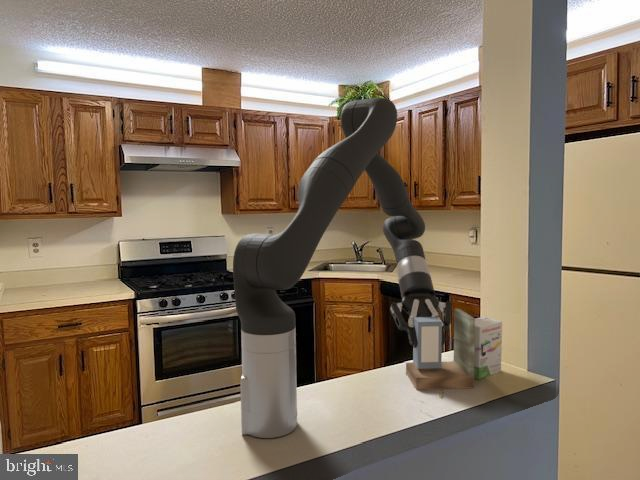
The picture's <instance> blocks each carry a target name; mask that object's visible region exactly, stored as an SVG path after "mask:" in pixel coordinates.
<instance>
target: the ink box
mask: <svg viewBox="0 0 640 480" xmlns="http://www.w3.org/2000/svg"><path fill="white" fill-rule="evenodd" d="M502 338H503V321H502V320H498V319H494V318H491V317H487V316H481V317H477V318H475V349H474V379H477V380H482V379H485V378H487V377H489V376H492V375H494V374H497V373H500V372H502V353H503V352H502V350H503V347H502V343H503V341H502V340H503V339H502Z"/></svg>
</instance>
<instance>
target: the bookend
mask: <svg viewBox="0 0 640 480" xmlns="http://www.w3.org/2000/svg"><path fill="white" fill-rule="evenodd" d="M453 310H454V311H453V312H454V313H453V360H452V361H441V368H428V369H418V368H417V367H416V365H415V364H414V363H413V362H406V363H405V367H406V368H405V373H406V376H407V378H408V379H409V381H410V382H411V385H413V387H414V388H415V390H416V391H417V390H418V391H419V390H443V389H444V390H448V389H474V388H475V378H474V349H475V319H476V318H475V317H473V316H472V315H471V314H468V313H467V312H466V311H464V310H463V309H461V308H454V309H453Z"/></svg>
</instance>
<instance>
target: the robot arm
mask: <svg viewBox="0 0 640 480" xmlns="http://www.w3.org/2000/svg"><path fill="white" fill-rule="evenodd" d="M397 122H398V109H397V107H396V105H395V103H394V102H393V101H391V99H388V98H387V97H379V96H377V97H372V98H371V97H370V98H365V99H364V98H363V99H355V100H351V101H350V100H349V101H348V102H346V103H345V104H344V106H343V107H342V109H341V113H340V125H341V129H342V132H343V135H344V137H345V138H344V139H342V140H341V141H338V142H337V143H335V144H333V145H331V146H330V147H328V148H327V149H326V150H323V151H322V153H320V154H319V155H317V157H316V158H315V159H314V160H313V162H312V163H311V164H310V165H309V167H308V169H306V171H305V172H304V173H303V175H302V176H301V179H300V180H299V184H298V189H297V190H298V193H297V195H298V196H297V197H298V209H297V212H296V214H295V215H294V217H293V219H291V221H290V223H289V224H288V225H287V226H286V227H285V229H283V230H282V231H281V232H279V233H262V232H261V233H249V234H246V235H244V236H243V237H242V238H241V239H240V240H239V241H238V243H237V245H236V247H235V249H234V253H233V257H232V259H233V260H232V276H233V277H232V278H233V288H234V289H233V290H234V303H235V304H234V305H235V309H236V313H237V315H238V318H239V320H240V333H241V335H240V337H241V339H240V340H241V372H242V374H241V377H240V416H241V417H240V418H241V420H240V421H241V435H249V436H252V437H254V438H255V437H256V438H260V439H261V438H262V439H273V438H274V439H275V438H279V437H284V436H286V435H288V434H290V433H292V432H294V430H296V429H297V426H298V403H297V401H298V398H297V397H298V394H297V390H298V388H297V339H296V338H297V337H296V336H297V333H296V330H297V329H296V327H297V326H296V325H297V324H296V313H295V311H294V310H293V309H292V307H290V306H289V305H288V304H286V303H285V302H284V301H283V300H282V299H281V298H280V297H279V295H278V293H277V291H285V290H286V291H287V290H289V289H291V288H293V287H294V286H295V285H296V284H298V282H299V280H301V278H302V276H303V275H304V273H305V271H306V270H307V267H308V266H309V264H310V262H311V260H312V258H313V256H314V253H316V252H315V251H316V250H317V247H318V245H319V243H320V241H321V239H322V238H323V236H324V234H325V232H326V231H327V229H328V227H329V226H330V224H331V223H332V221H333V219H334V217H335V215H336V214H337V213H338V211H339V209H340V208H341V207H342V206H343V204H344V203H345V201H346V200H347V198H348V196H349V195H350V193H351V192H352V190H353V189H354V187H355V186H356V184H357V182H358V180H359V179H360V177H361V176H362V174H363V173H364V171H365V173H366V174H367V176H368V178H369V179H370V181H371V184H372V186H373V188H374V190H375V194H376V196H377V199H378V201H379V205H380V207H381V210H382V212H383V213H384V214H385V215H387V216H389V217H388V218H386V219H385V220H384V222H383V225H382V231H383V234H384V237H385V238H386V241H387V242H388V243H389V244H390V246H391V248H392V251H393V254H394V258H395V263H396V268H397V269H396V270H397V271H396V273H397V282H398V285H399V291H400V297H401V302H395V301H392V302H391V305H390V308H389V311H390V313H391V316H392V317H393V320H394V322H395V325H396V327H397V328H398V330H399V331H406V333H407V337H408V340H409V341H408V342H409V344H410V346H412V348H416V347H417V345H418V341H417V336H416V331H415V328H414V320H413V317H437V318H438V319H439V320H441V318H440V314H439V312H438V311H437V309H438V308H439V310H440V311H441V313H442V315H443V317H442V320H441V321H442V348H443V347H444V345H445V343H446V340H447V337H446V334H445V330H448V329H449V327H450V325H451V323H452V301H450V300H446V302H443V301H439V299H438V298H437V297H436V293H435V288H434V285H433V280H432V277H431V272H430V271H431V270H430V268H429V265H428V263H427V261H426V256H425V253H424V247H423V246H422V243H420V242H419V240H416V239H418V238H421V237H422V236H423V235H425V232H426V224H425V223H426V222H425V221H424V218H423V217H422V215H421V214H420V213H419V212H418V210H417V209H416V208H415V207H414V205H413V204H412V202H411V199H410V198H409V195H408V191H407V189H406V186H405V182H404V180H403V178H402V176H401V175H400V174H399V172H398V170H396V168H394V166H393V165H391V164H390V162H389V161H387V160H386V159H385V158H384V157H383V156H382V155H381V154H380V151H381V149H383V147H384V146H385V145H386V144H387V143H388V142H389V141H390V139H391V137H392V136H393V134H394V132H395V130H396V127H397V124H398V123H397ZM402 310H404V311H405V312H406V314H407V315H408V316H409V317H408V322H406V320H405V318H404V316H403V314H402Z"/></svg>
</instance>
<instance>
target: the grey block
mask: <svg viewBox="0 0 640 480" xmlns="http://www.w3.org/2000/svg"><path fill="white" fill-rule="evenodd" d="M413 320H414V328H415V331H416V336H417V341H418V345H417V347H416V348H413V347H412V348H413V349H412V350H413V351H412V361H413V362H412V363H414V364H415V365H416V367H417V368H418V369H428V368H441V362H442V355H443V354H442V351H443V349H442V348H443V347H442V322H443V320H439V319H438V318H437V317H413Z"/></svg>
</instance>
